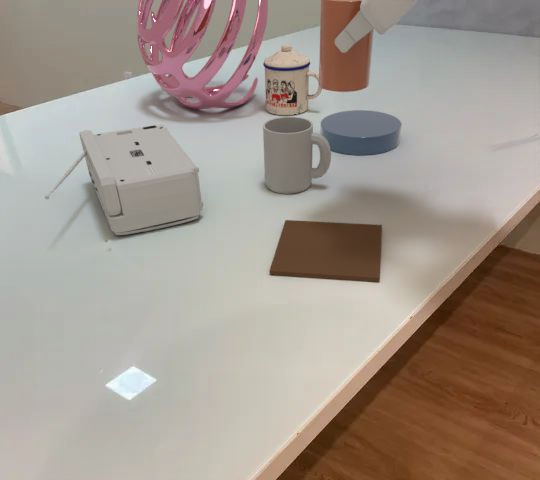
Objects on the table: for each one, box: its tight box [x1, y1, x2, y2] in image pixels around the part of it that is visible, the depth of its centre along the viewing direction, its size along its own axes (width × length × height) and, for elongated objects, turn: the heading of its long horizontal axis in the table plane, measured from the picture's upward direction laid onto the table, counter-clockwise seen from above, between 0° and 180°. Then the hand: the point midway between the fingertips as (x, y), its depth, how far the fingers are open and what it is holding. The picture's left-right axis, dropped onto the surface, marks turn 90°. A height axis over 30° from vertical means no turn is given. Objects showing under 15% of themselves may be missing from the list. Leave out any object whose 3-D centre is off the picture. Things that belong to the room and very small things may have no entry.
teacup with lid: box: [262, 43, 323, 116], centre depth 109 cm, size 12×9×12 cm
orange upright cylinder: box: [318, 0, 375, 93], centre depth 64 cm, size 6×6×9 cm
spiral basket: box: [136, 0, 269, 110], centre depth 110 cm, size 28×28×27 cm
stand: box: [319, 109, 403, 156], centre depth 98 cm, size 14×14×3 cm
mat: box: [269, 219, 383, 283], centre depth 70 cm, size 13×13×1 cm
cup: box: [262, 116, 332, 195], centre depth 83 cm, size 7×10×9 cm
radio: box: [44, 124, 204, 236], centre depth 80 cm, size 21×8×20 cm
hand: (341, 39), depth 64 cm, fingers closed on orange upright cylinder, 6 cm apart
